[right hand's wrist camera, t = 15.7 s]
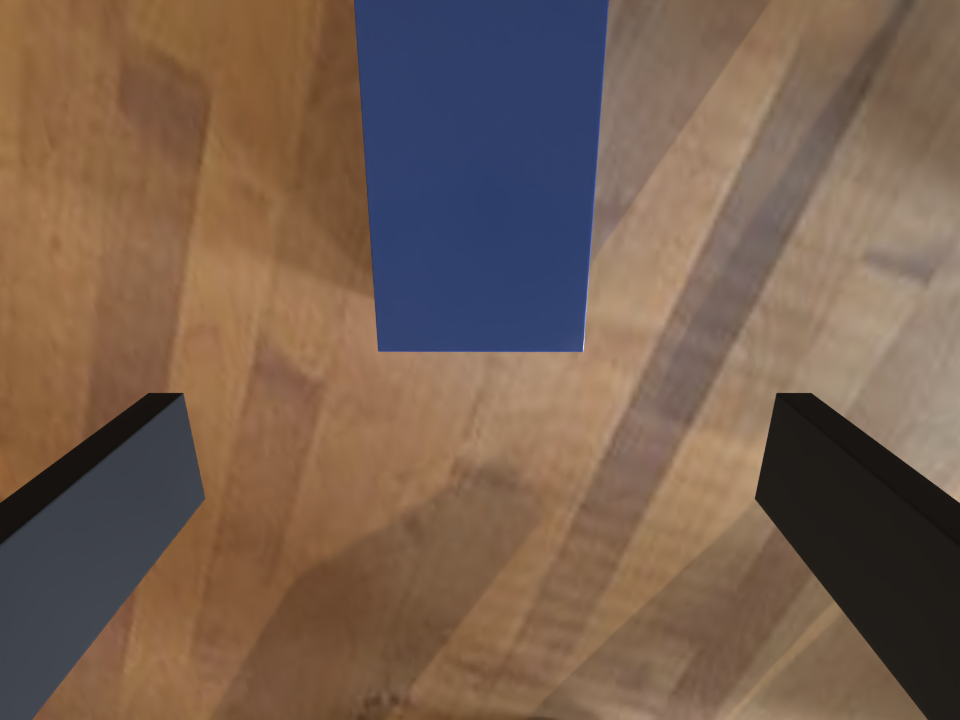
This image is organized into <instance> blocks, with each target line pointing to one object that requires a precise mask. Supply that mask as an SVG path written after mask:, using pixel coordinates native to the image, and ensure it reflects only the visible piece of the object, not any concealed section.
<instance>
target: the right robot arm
mask: <svg viewBox="0 0 960 720" xmlns="http://www.w3.org/2000/svg"><path fill="white" fill-rule="evenodd" d="M204 499H205V496H204V491H203V486H202V481H201V476H200V471H199V466H198V462H197V457H196V452H195V447H194V442H193V437H192V433H191V428H190V423H189V418H188V413H187V408H186V403H185V399H184V394H183V393H148V394H147V395H146V396H144V397H143V398H141V399H140V400H139V401H137V402H136V403H135V404H133V405H132V406H131V407H129V408H128V409H127V410H125V411H124V412H123V413H121V414H120V415H119V416H117V417H116V418H114V419H113V420H112V421H110V422H109V423H108V424H106V425H105V426H104V427H102V428H101V429H100V430H98V431H97V432H96V433H94V434H93V435H92V436H90V437H89V438H87V439H86V440H85V441H83V442H82V443H81V444H79V445H78V446H77V447H75V448H74V449H73V450H71V451H70V452H69V453H67V454H66V455H65V456H63V457H62V458H60V459H59V460H58V461H56V462H55V463H54V464H52V465H51V466H50V467H48V468H47V469H46V470H44V471H43V472H42V473H40V474H39V475H38V476H36V477H35V478H33V479H32V480H31V481H29V482H28V483H27V484H25V485H24V486H23V487H21V488H20V489H19V490H17V491H16V492H15V493H13V494H12V495H11V496H9V497H8V498H6V499H5V500H4V501H2V502H1V503H0V720H32V719H33V718H34V716H35V715H36V714H37V713H38V711H39V710H40V709H41V708H42V706H43V705H44V704H45V702H46V701H47V700H48V699H49V697H50V696H51V695H52V693H53V692H54V691H55V690H56V688H57V687H58V686H59V685H60V683H61V682H62V681H63V679H64V678H65V677H66V676H67V674H68V673H69V672H70V670H71V669H72V668H73V667H74V665H75V664H76V663H77V662H78V660H79V659H80V658H81V656H82V655H83V654H84V653H85V651H86V650H87V649H88V648H89V646H90V645H91V644H92V642H93V641H94V640H95V639H96V637H97V636H98V635H99V633H100V632H101V631H102V630H103V628H104V627H105V626H106V625H107V623H108V622H109V621H110V619H111V618H112V617H113V616H114V614H115V613H116V612H117V610H118V609H119V608H120V607H121V605H122V604H123V603H124V602H125V600H126V599H127V598H128V596H129V595H130V594H131V593H132V591H133V590H134V589H135V588H136V586H137V585H138V584H139V582H140V581H141V580H142V579H143V577H144V576H145V575H146V573H147V572H148V571H149V570H150V568H151V567H152V566H153V565H154V563H155V562H156V561H157V559H158V558H159V557H160V556H161V554H162V553H163V552H164V550H165V549H166V548H167V547H168V545H169V544H170V543H171V542H172V540H173V539H174V538H175V536H176V535H177V534H178V533H179V531H180V530H181V529H182V528H183V526H184V525H185V524H186V522H187V521H188V520H189V519H190V517H191V516H192V515H193V513H194V512H195V511H196V510H197V508H198V507H199V506H200V505H201V503H202V502H203V501H204ZM755 499H756V501H757V502H758V503H759V505H760V506H761V507H762V508H763V510H764V511H765V512H766V513H767V515H768V516H769V517H770V519H771V520H772V521H773V522H774V524H775V525H776V526H777V528H778V529H779V530H780V531H781V533H782V534H783V535H784V536H785V538H786V539H787V540H788V542H789V543H790V544H791V545H792V547H793V548H794V549H795V550H796V552H797V553H798V554H799V556H800V557H801V558H802V559H803V561H804V562H805V563H806V565H807V566H808V567H809V568H810V570H811V571H812V572H813V573H814V575H815V576H816V577H817V579H818V580H819V581H820V582H821V584H822V585H823V586H824V588H825V589H826V590H827V591H828V593H829V594H830V595H831V596H832V598H833V599H834V600H835V602H836V603H837V604H838V605H839V607H840V608H841V609H842V610H843V612H844V613H845V614H846V616H847V617H848V618H849V619H850V621H851V622H852V623H853V625H854V626H855V627H856V628H857V630H858V631H859V632H860V633H861V635H862V636H863V637H864V639H865V640H866V641H867V642H868V644H869V645H870V646H871V648H872V649H873V650H874V651H875V653H876V654H877V655H878V656H879V658H880V659H881V660H882V662H883V663H884V664H885V665H886V667H887V668H888V669H889V670H890V672H891V673H892V674H893V676H894V677H895V678H896V679H897V681H898V682H899V683H900V685H901V686H902V687H903V688H904V690H905V691H906V692H907V693H908V695H909V696H910V697H911V699H912V700H913V701H914V702H915V704H916V705H917V706H918V708H919V709H920V710H921V711H922V713H923V714H924V715H925V716H926V718H927V719H928V720H960V503H959V502H958V501H956V500H955V499H954V498H952V497H951V496H949V495H948V494H947V493H945V492H944V491H943V490H941V489H940V488H939V487H937V486H936V485H935V484H933V483H932V482H931V481H929V480H928V479H927V478H925V477H924V476H922V475H921V474H920V473H918V472H917V471H916V470H914V469H913V468H912V467H910V466H909V465H908V464H906V463H905V462H904V461H902V460H901V459H900V458H898V457H897V456H895V455H894V454H893V453H891V452H890V451H889V450H887V449H886V448H885V447H883V446H882V445H881V444H879V443H878V442H877V441H875V440H874V439H873V438H871V437H870V436H868V435H867V434H866V433H864V432H863V431H862V430H860V429H859V428H858V427H856V426H855V425H854V424H852V423H851V422H850V421H848V420H847V419H846V418H844V417H843V416H841V415H840V414H839V413H837V412H836V411H835V410H833V409H832V408H831V407H829V406H828V405H827V404H825V403H824V402H823V401H821V400H820V399H819V398H817V397H816V396H814V395H813V394H812V393H777V394H776V399H775V403H774V408H773V413H772V418H771V423H770V428H769V433H768V437H767V442H766V447H765V452H764V457H763V462H762V466H761V471H760V476H759V481H758V486H757V491H756V496H755Z"/></svg>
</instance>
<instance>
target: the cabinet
mask: <svg viewBox="0 0 960 720" xmlns="http://www.w3.org/2000/svg"><path fill="white" fill-rule="evenodd" d="M608 4H609V0H354V7H355V22H356V36H357V51H358V65H359V80H360V94H361V109H362V123H363V138H364V152H365V167H366V181H367V196H368V210H369V225H370V239H371V254H372V268H373V283H374V297H375V312H376V326H377V341H378V351H379V352H583V351H584V337H585V323H586V309H587V296H588V282H589V268H590V254H591V240H592V226H593V212H594V199H595V185H596V171H597V157H598V143H599V129H600V115H601V101H602V88H603V74H604V60H605V46H606V32H607V18H608Z"/></svg>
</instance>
